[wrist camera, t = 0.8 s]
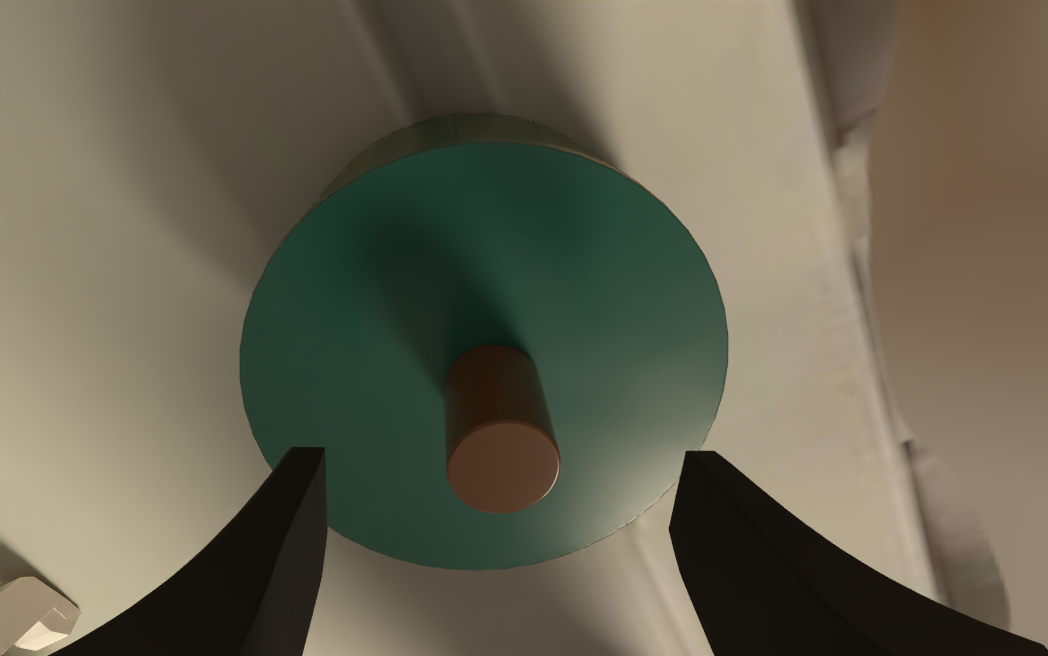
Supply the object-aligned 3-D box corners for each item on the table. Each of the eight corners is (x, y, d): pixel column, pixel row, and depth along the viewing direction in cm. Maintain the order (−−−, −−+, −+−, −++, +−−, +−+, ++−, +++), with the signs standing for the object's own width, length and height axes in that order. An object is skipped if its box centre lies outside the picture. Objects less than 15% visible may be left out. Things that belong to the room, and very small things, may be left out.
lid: (672, 542, 23) (722, 665, 19) (263, 545, 22) (224, 681, 18) (759, 148, 18) (853, 204, 14) (230, 112, 16) (166, 164, 12)
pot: (622, 437, 27) (664, 544, 22) (305, 433, 26) (276, 546, 21) (675, 126, 23) (744, 174, 18) (291, 99, 21) (250, 144, 16)
